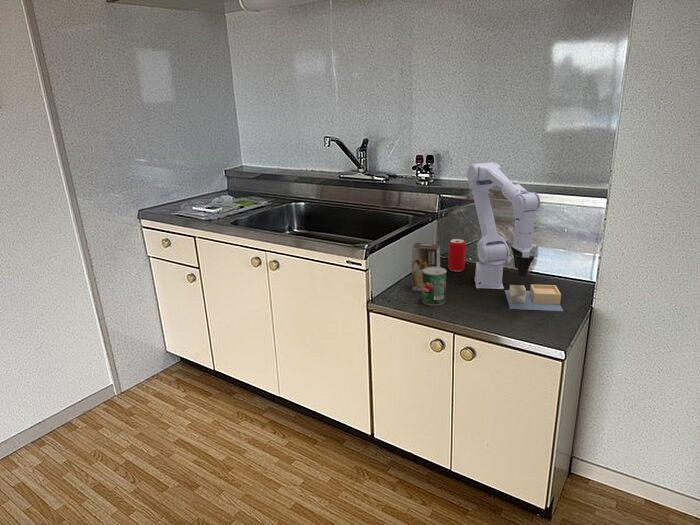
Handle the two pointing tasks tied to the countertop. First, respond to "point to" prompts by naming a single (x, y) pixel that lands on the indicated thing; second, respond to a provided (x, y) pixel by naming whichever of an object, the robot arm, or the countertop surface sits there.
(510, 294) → the cream block
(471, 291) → the countertop surface
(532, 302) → the board
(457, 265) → the beverage can
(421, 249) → the coffee box
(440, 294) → the canned tomato
